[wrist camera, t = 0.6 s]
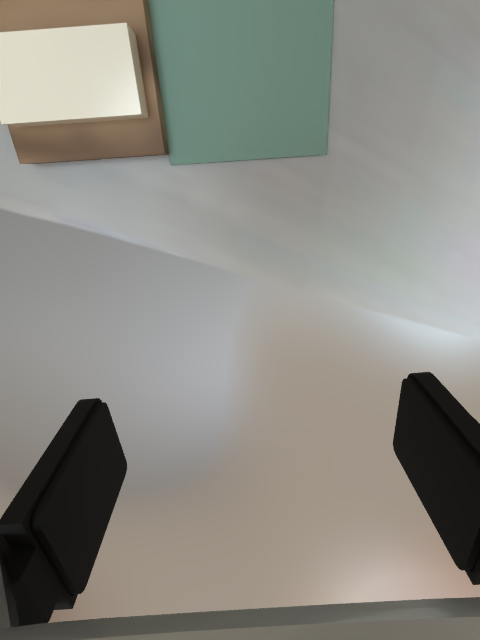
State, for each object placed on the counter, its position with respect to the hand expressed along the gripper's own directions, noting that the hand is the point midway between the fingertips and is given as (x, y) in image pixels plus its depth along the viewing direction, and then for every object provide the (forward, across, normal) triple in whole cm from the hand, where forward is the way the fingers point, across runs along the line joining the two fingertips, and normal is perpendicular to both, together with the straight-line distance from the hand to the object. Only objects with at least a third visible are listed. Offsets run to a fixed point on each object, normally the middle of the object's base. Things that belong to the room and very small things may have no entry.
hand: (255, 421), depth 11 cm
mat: (+30, -2, -14) cm, 33 cm away
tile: (+27, +14, -15) cm, 34 cm away
